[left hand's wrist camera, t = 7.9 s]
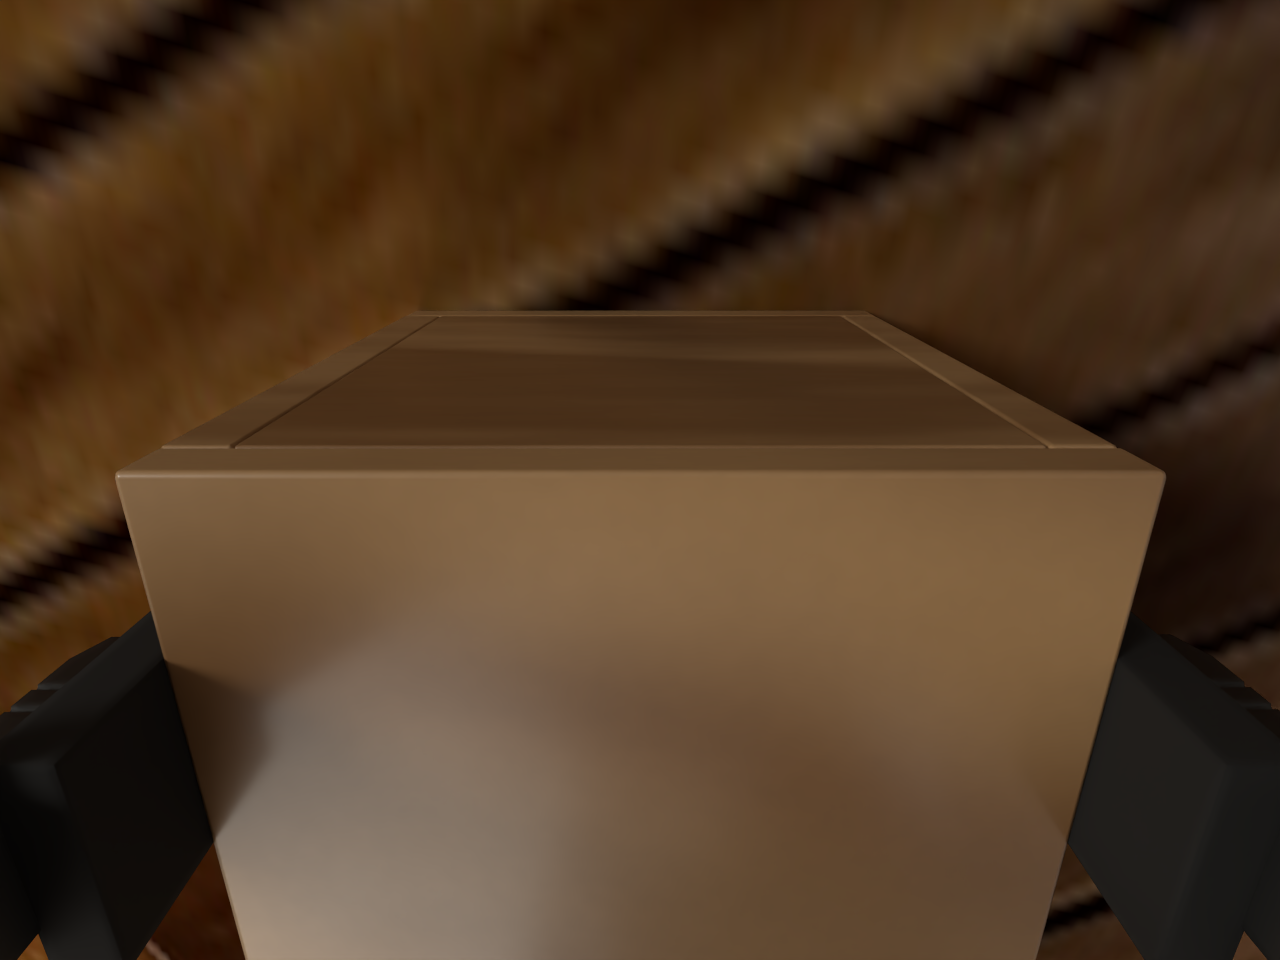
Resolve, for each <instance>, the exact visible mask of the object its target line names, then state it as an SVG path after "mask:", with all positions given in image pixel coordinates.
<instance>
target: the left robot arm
mask: <svg viewBox="0 0 1280 960" xmlns="http://www.w3.org/2000/svg"><path fill="white" fill-rule="evenodd" d="M213 842H214V841H213V837H212V833H211V830H210V826H209V822H208V819H207V815H206V811H205V808H204V804H203V800H202V797H201V793H200V789H199V786H198V782H197V778H196V775H195V771H194V767H193V764H192V760H191V756H190V752H189V749H188V745H187V741H186V738H185V734H184V730H183V727H182V723H181V719H180V716H179V712H178V708H177V705H176V701H175V697H174V694H173V690H172V686H171V683H170V679H169V675H168V672H167V668H166V664H165V661H164V657H163V653H162V649H161V646H160V642H159V638H158V635H157V631H156V627H155V624H154V620H153V616H152V613H151V611H150V612H149V613H148V614H147V615H146V616H144V617H143V618H142V619H141V620H140V621H138V622H137V623H136V624H135V625H134V626H133V627H131V628H130V629H129V630H128V631H127V632H126V633H124V634H123V635H122V636H121V637H111V638H109V639H107V640H105V641H103V642H101V643H99V644H97V645H95V646H93V647H91V648H89V649H88V650H86V651H84V652H82V653H80V654H78V655H76V656H74V657H72V658H70V659H69V660H68V661H66V662H65V663H64V664H63V665H62V666H60V667H59V668H58V669H57V670H55V671H54V672H53V673H52V674H50V675H49V676H48V677H47V678H46V679H44V680H43V681H42V682H41V683H39V684H38V689H37V690H31V691H30V692H28V693H27V694H26V695H25V696H24V697H22V698H21V699H20V700H19V701H17V702H16V703H15V704H14V705H13V706H11V711H10V712H4V713H3V714H2V715H0V960H17V959H18V958H19V956H20V955H21V954H22V953H23V951H24V950H25V949H26V948H27V947H28V945H29V944H30V943H31V942H32V940H33V939H34V938H35V937H36V935H37V934H39V937H40V939H41V942H42V944H43V947H44V949H45V952H46V954H47V957H48V959H49V960H136V959H137V958H138V956H139V955H140V953H141V952H142V950H143V949H144V947H145V946H146V944H147V943H148V941H149V940H150V938H151V937H152V935H153V933H154V932H155V930H156V929H157V927H158V926H159V924H160V923H161V921H162V920H163V918H164V917H165V915H166V914H167V912H168V911H169V909H170V908H171V906H172V905H173V903H174V902H175V900H176V898H177V897H178V895H179V894H180V892H181V891H182V889H183V888H184V886H185V885H186V883H187V882H188V880H189V879H190V877H191V876H192V874H193V873H194V871H195V870H196V868H197V866H198V865H199V863H200V862H201V860H202V859H203V857H204V856H205V854H206V853H207V851H208V850H209V848H210V847H211V845H212V844H213ZM1068 844H1069V845H1070V847H1071V848H1072V850H1073V851H1074V853H1075V855H1076V856H1077V858H1078V859H1079V861H1080V862H1081V864H1082V865H1083V867H1084V868H1085V870H1086V871H1087V873H1088V874H1089V876H1090V877H1091V879H1092V880H1093V882H1094V883H1095V885H1096V887H1097V888H1098V890H1099V891H1100V893H1101V894H1102V896H1103V897H1104V899H1105V900H1106V902H1107V903H1108V905H1109V906H1110V908H1111V909H1112V911H1113V912H1114V914H1115V915H1116V917H1117V918H1118V920H1119V922H1120V923H1121V925H1122V926H1123V928H1124V929H1125V931H1126V932H1127V934H1128V935H1129V937H1130V938H1131V940H1132V941H1133V943H1134V944H1135V946H1136V947H1137V949H1138V950H1139V952H1140V954H1141V955H1142V957H1143V958H1144V960H1232V959H1233V957H1234V954H1235V952H1236V949H1237V947H1238V944H1239V942H1240V939H1241V937H1242V934H1243V932H1244V931H1245V933H1246V934H1247V935H1248V936H1249V937H1250V939H1251V940H1252V941H1253V942H1254V944H1255V945H1256V946H1257V947H1258V948H1259V950H1260V951H1261V952H1262V953H1263V955H1264V956H1265V957H1266V958H1267V959H1268V960H1280V711H1279V710H1274V709H1272V708H1271V704H1270V703H1269V702H1268V701H1267V700H1266V699H1264V698H1263V697H1262V696H1261V695H1259V694H1258V693H1257V692H1256V691H1254V690H1253V689H1252V688H1251V687H1245V686H1244V682H1243V681H1242V680H1241V679H1240V678H1238V677H1237V676H1236V675H1235V674H1233V673H1232V672H1231V671H1230V670H1229V669H1227V668H1226V667H1225V666H1224V665H1222V664H1221V663H1220V662H1219V661H1217V660H1216V659H1215V658H1214V657H1213V656H1211V655H1209V654H1207V653H1205V652H1203V651H1201V650H1199V649H1197V648H1195V647H1193V646H1191V645H1190V644H1188V643H1186V642H1184V641H1182V640H1180V639H1178V638H1176V637H1174V636H1172V635H1158V634H1156V633H1155V632H1154V631H1153V630H1152V629H1151V628H1149V627H1148V626H1147V625H1146V624H1145V623H1144V622H1142V621H1141V620H1140V619H1139V618H1138V617H1137V616H1135V615H1134V614H1133V613H1132V612H1131V611H1130V614H1129V618H1128V621H1127V625H1126V629H1125V632H1124V636H1123V640H1122V644H1121V647H1120V651H1119V655H1118V658H1117V662H1116V666H1115V669H1114V673H1113V677H1112V680H1111V684H1110V688H1109V691H1108V695H1107V699H1106V703H1105V706H1104V710H1103V714H1102V717H1101V721H1100V725H1099V728H1098V732H1097V736H1096V739H1095V743H1094V747H1093V751H1092V754H1091V758H1090V762H1089V765H1088V769H1087V773H1086V776H1085V780H1084V784H1083V787H1082V791H1081V795H1080V799H1079V802H1078V806H1077V810H1076V813H1075V817H1074V821H1073V824H1072V828H1071V832H1070V835H1069V839H1068Z"/></svg>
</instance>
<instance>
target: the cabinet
mask: <svg viewBox="0 0 1280 960" xmlns="http://www.w3.org/2000/svg"><path fill="white" fill-rule="evenodd" d="M115 480H116V484H117V488H118V491H119V495H120V499H121V502H122V506H123V510H124V513H125V517H126V521H127V524H128V528H129V532H130V535H131V539H132V543H133V546H134V550H135V554H136V557H137V561H138V565H139V569H140V572H141V576H142V580H143V583H144V587H145V591H146V594H147V598H148V602H149V605H150V609H151V613H152V616H153V620H154V624H155V627H156V631H157V635H158V638H159V642H160V646H161V649H162V653H163V657H164V661H165V664H166V668H167V672H168V675H169V679H170V683H171V686H172V690H173V694H174V697H175V701H176V705H177V708H178V712H179V716H180V719H181V723H182V727H183V730H184V734H185V738H186V741H187V745H188V749H189V752H190V756H191V760H192V764H193V767H194V771H195V775H196V778H197V782H198V786H199V789H200V793H201V797H202V800H203V804H204V808H205V811H206V815H207V819H208V822H209V826H210V830H211V833H212V837H213V841H214V844H215V848H216V852H217V856H218V859H219V863H220V867H221V870H222V874H223V878H224V881H225V885H226V889H227V892H228V896H229V900H230V903H231V907H232V911H233V914H234V918H235V922H236V925H237V929H238V933H239V936H240V940H241V944H242V948H243V951H244V955H245V959H246V960H1036V957H1037V954H1038V950H1039V946H1040V943H1041V939H1042V935H1043V931H1044V928H1045V924H1046V920H1047V917H1048V913H1049V909H1050V906H1051V902H1052V898H1053V895H1054V891H1055V887H1056V883H1057V880H1058V876H1059V872H1060V869H1061V865H1062V861H1063V858H1064V854H1065V850H1066V847H1067V843H1068V839H1069V835H1070V832H1071V828H1072V824H1073V821H1074V817H1075V813H1076V810H1077V806H1078V802H1079V799H1080V795H1081V791H1082V787H1083V784H1084V780H1085V776H1086V773H1087V769H1088V765H1089V762H1090V758H1091V754H1092V751H1093V747H1094V743H1095V739H1096V736H1097V732H1098V728H1099V725H1100V721H1101V717H1102V714H1103V710H1104V706H1105V703H1106V699H1107V695H1108V691H1109V688H1110V684H1111V680H1112V677H1113V673H1114V669H1115V666H1116V662H1117V658H1118V655H1119V651H1120V647H1121V644H1122V640H1123V636H1124V632H1125V629H1126V625H1127V621H1128V618H1129V614H1130V610H1131V607H1132V603H1133V599H1134V596H1135V592H1136V588H1137V584H1138V581H1139V577H1140V573H1141V570H1142V566H1143V562H1144V559H1145V555H1146V551H1147V548H1148V544H1149V540H1150V536H1151V533H1152V529H1153V525H1154V522H1155V518H1156V514H1157V511H1158V507H1159V503H1160V500H1161V496H1162V492H1163V488H1164V485H1165V481H1166V474H1165V472H1164V471H1163V470H1161V469H1159V468H1157V467H1155V466H1153V465H1151V464H1150V463H1148V462H1146V461H1144V460H1142V459H1140V458H1138V457H1137V456H1135V455H1133V454H1131V453H1129V452H1127V451H1125V450H1123V449H1121V448H1117V447H1116V446H1115V445H1113V444H1112V443H1110V442H1108V441H1106V440H1104V439H1102V438H1100V437H1099V436H1097V435H1095V434H1093V433H1091V432H1089V431H1087V430H1086V429H1084V428H1082V427H1080V426H1078V425H1076V424H1074V423H1073V422H1071V421H1069V420H1067V419H1065V418H1063V417H1061V416H1060V415H1058V414H1056V413H1054V412H1052V411H1050V410H1048V409H1047V408H1045V407H1043V406H1041V405H1039V404H1037V403H1035V402H1034V401H1032V400H1030V399H1028V398H1026V397H1024V396H1022V395H1021V394H1019V393H1017V392H1015V391H1013V390H1011V389H1009V388H1008V387H1006V386H1004V385H1002V384H1000V383H998V382H996V381H995V380H993V379H991V378H989V377H987V376H985V375H983V374H982V373H980V372H978V371H976V370H974V369H972V368H970V367H969V366H967V365H965V364H963V363H961V362H959V361H957V360H955V359H954V358H952V357H950V356H948V355H946V354H944V353H942V352H941V351H939V350H937V349H935V348H933V347H931V346H929V345H928V344H926V343H924V342H922V341H920V340H918V339H916V338H915V337H913V336H911V335H909V334H907V333H905V332H903V331H902V330H900V329H898V328H896V327H894V326H892V325H890V324H889V323H887V322H885V321H883V320H881V319H879V318H877V317H875V316H874V315H872V314H870V313H868V312H866V311H416V312H414V313H412V314H410V315H408V316H405V317H403V318H401V319H399V320H398V321H396V322H394V323H392V324H390V325H388V326H386V327H384V328H383V329H381V330H379V331H377V332H375V333H373V334H371V335H369V336H368V337H366V338H364V339H362V340H360V341H358V342H356V343H354V344H353V345H351V346H349V347H347V348H345V349H343V350H341V351H339V352H338V353H336V354H334V355H332V356H330V357H328V358H326V359H324V360H323V361H321V362H319V363H317V364H315V365H313V366H311V367H309V368H308V369H306V370H304V371H302V372H300V373H298V374H296V375H295V376H293V377H291V378H289V379H287V380H285V381H283V382H281V383H280V384H278V385H276V386H274V387H272V388H270V389H268V390H266V391H265V392H263V393H261V394H259V395H257V396H255V397H253V398H251V399H250V400H248V401H246V402H244V403H242V404H240V405H238V406H236V407H235V408H233V409H231V410H229V411H227V412H225V413H223V414H221V415H220V416H218V417H216V418H214V419H212V420H210V421H208V422H206V423H205V424H203V425H201V426H199V427H197V428H195V429H193V430H191V431H190V432H188V433H186V434H184V435H182V436H180V437H178V438H176V439H175V440H173V441H171V442H169V443H167V444H165V445H163V446H162V448H161V449H158V450H156V451H154V452H152V453H151V454H149V455H147V456H145V457H143V458H141V459H139V460H137V461H136V462H134V463H132V464H130V465H128V466H126V467H124V468H123V469H121V470H119V471H117V473H116V475H115Z"/></svg>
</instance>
